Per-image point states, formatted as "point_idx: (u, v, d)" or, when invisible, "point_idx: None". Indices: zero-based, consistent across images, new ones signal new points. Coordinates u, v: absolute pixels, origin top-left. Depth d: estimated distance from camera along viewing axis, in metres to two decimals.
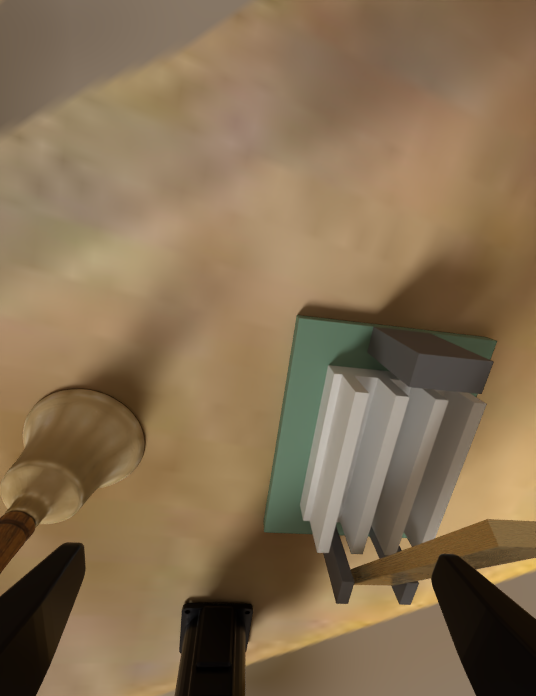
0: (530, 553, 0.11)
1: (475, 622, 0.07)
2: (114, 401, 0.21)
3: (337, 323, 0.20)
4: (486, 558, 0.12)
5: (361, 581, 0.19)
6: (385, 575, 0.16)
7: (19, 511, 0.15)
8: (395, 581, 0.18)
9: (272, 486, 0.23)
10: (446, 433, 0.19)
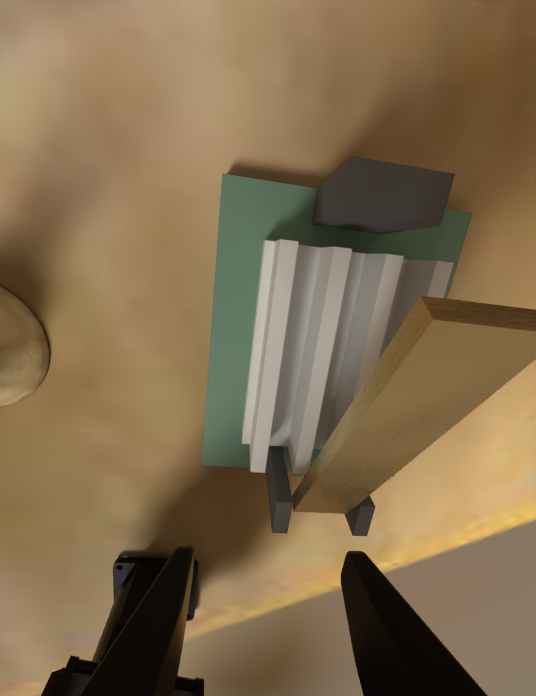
0: (492, 363, 0.07)
1: (365, 622, 0.06)
2: (3, 290, 0.17)
3: (271, 182, 0.16)
4: (430, 390, 0.08)
5: (300, 501, 0.15)
6: (319, 476, 0.13)
7: None
8: (341, 498, 0.15)
9: (206, 405, 0.19)
10: None
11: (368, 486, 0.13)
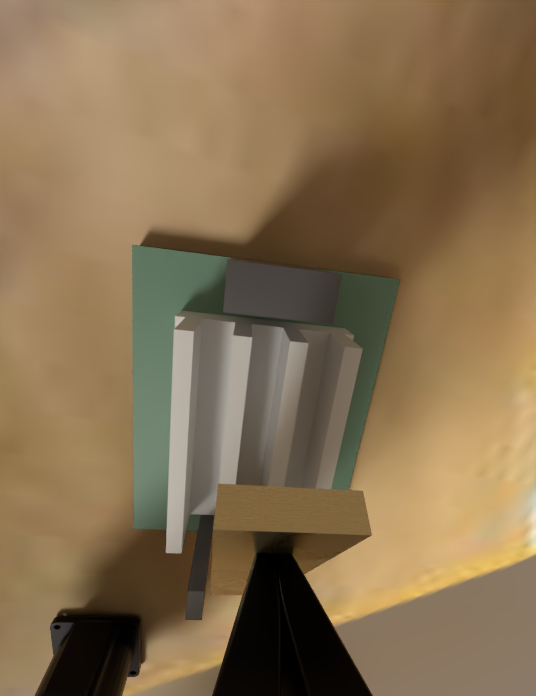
0: (312, 545, 0.06)
1: None
2: None
3: (185, 253, 0.15)
4: None
5: (211, 590, 0.14)
6: (212, 582, 0.12)
7: None
8: None
9: (134, 470, 0.19)
10: (326, 394, 0.15)
11: None
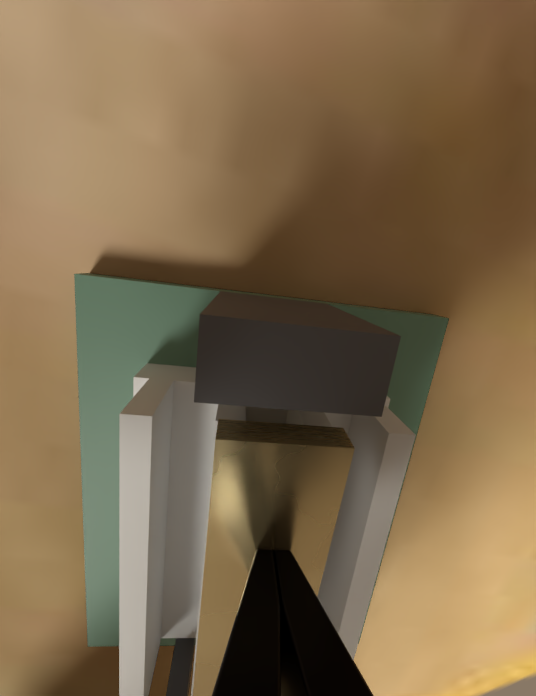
0: (307, 486, 0.07)
1: None
2: None
3: (151, 284, 0.11)
4: (262, 528, 0.07)
5: None
6: (194, 695, 0.09)
7: None
8: None
9: (87, 573, 0.14)
10: (354, 489, 0.10)
11: None
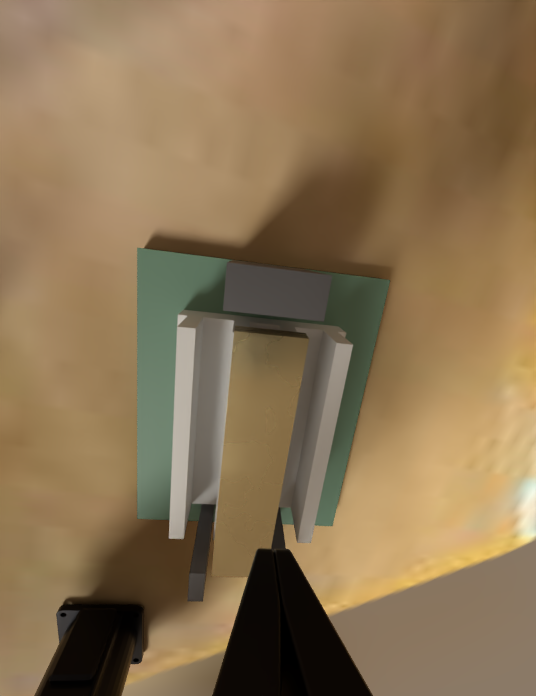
0: (283, 361, 0.12)
1: None
2: None
3: (187, 255, 0.16)
4: (259, 387, 0.13)
5: (213, 553, 0.16)
6: (219, 503, 0.15)
7: None
8: (250, 543, 0.16)
9: (138, 462, 0.20)
10: (319, 388, 0.16)
11: (266, 518, 0.15)
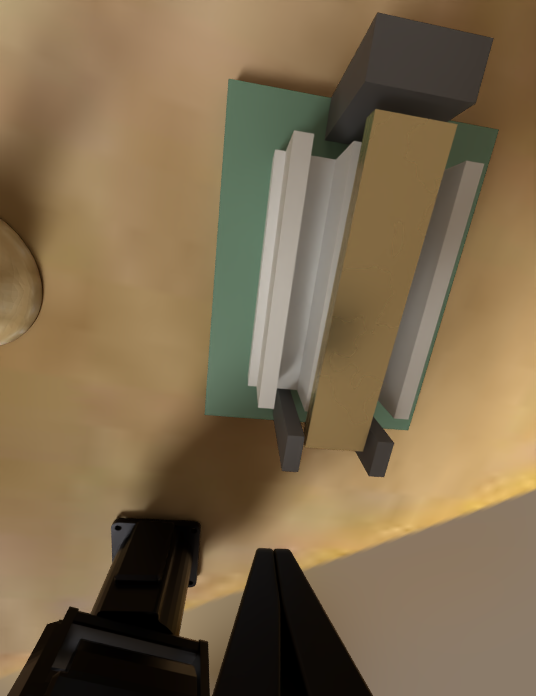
0: (424, 156, 0.11)
1: None
2: None
3: (281, 90, 0.14)
4: (392, 190, 0.11)
5: (311, 417, 0.14)
6: (326, 351, 0.13)
7: None
8: (353, 405, 0.14)
9: (210, 347, 0.18)
10: (430, 235, 0.14)
11: (375, 372, 0.14)
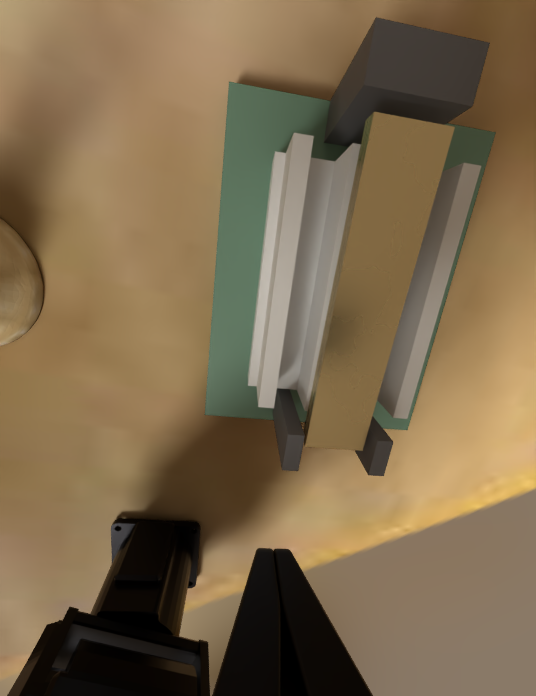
0: (422, 158, 0.11)
1: None
2: None
3: (281, 93, 0.15)
4: (391, 191, 0.11)
5: (311, 416, 0.14)
6: (326, 350, 0.13)
7: None
8: (352, 404, 0.14)
9: (210, 347, 0.18)
10: (428, 236, 0.14)
11: (374, 372, 0.14)
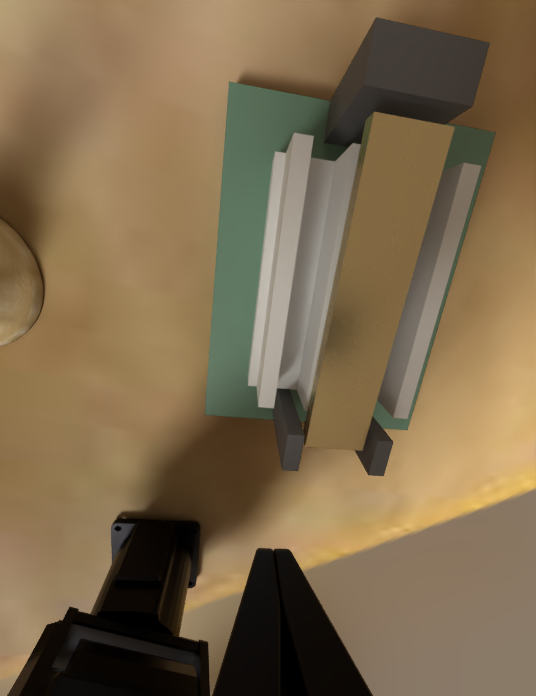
0: (422, 158, 0.11)
1: None
2: None
3: (281, 93, 0.15)
4: (391, 191, 0.11)
5: (311, 416, 0.14)
6: (326, 350, 0.13)
7: None
8: (352, 404, 0.14)
9: (210, 347, 0.18)
10: (428, 236, 0.14)
11: (374, 372, 0.14)
